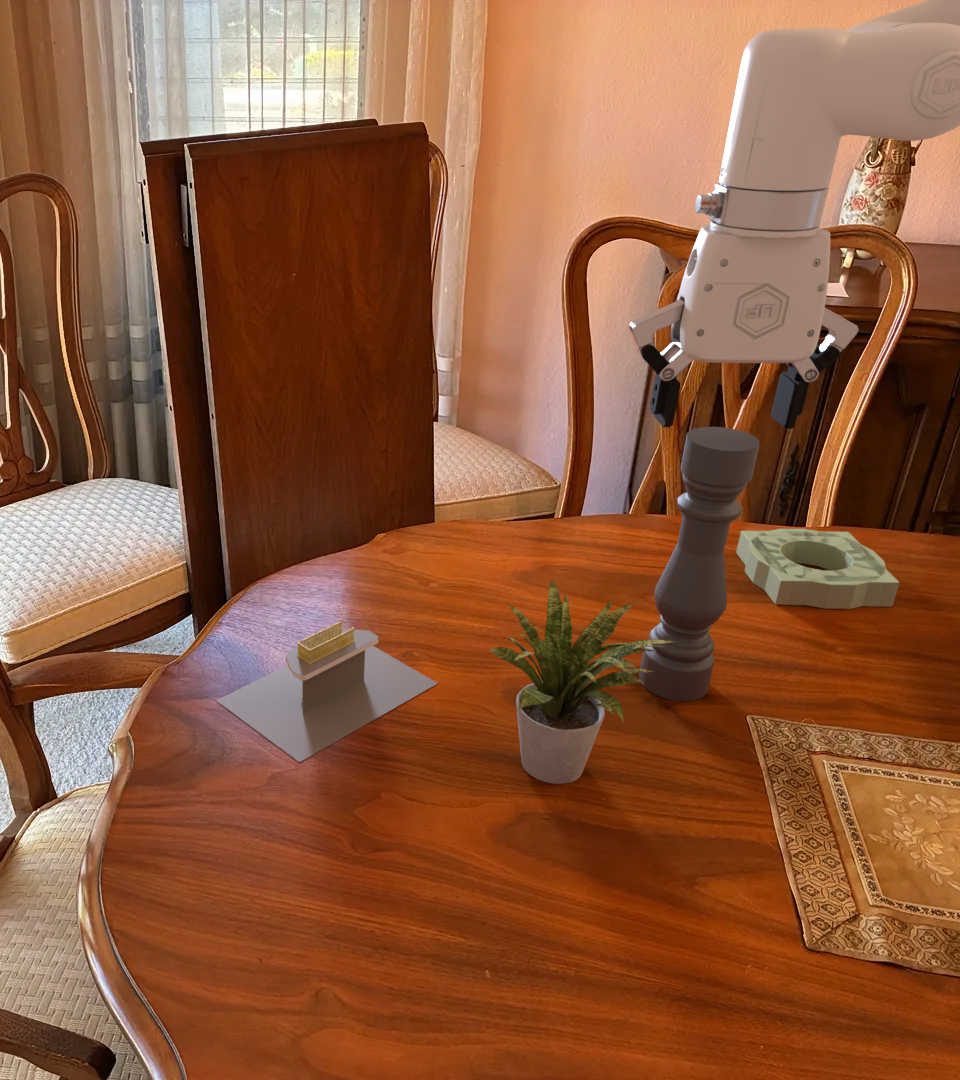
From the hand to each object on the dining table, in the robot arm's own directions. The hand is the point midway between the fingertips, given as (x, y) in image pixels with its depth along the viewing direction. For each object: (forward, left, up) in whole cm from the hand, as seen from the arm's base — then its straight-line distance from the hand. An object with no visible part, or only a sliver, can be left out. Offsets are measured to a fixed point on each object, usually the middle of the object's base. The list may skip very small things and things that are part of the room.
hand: (721, 422), depth 84 cm
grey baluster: (0, 0, -27) cm, 27 cm away
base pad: (-21, -21, -27) cm, 40 cm away
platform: (+33, +3, -27) cm, 42 cm away
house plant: (+14, +14, -27) cm, 33 cm away
